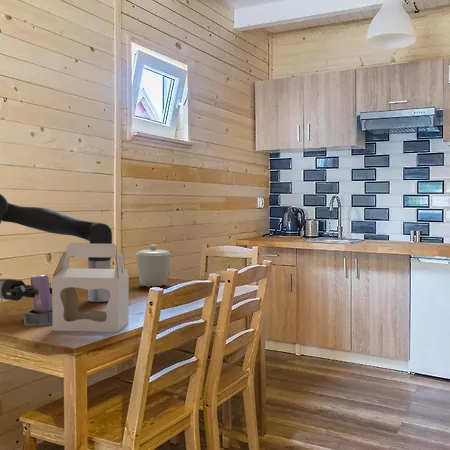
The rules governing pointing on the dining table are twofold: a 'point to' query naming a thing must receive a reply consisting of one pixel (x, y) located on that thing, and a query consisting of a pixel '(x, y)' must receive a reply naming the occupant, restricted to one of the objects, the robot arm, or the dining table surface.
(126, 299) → the gable box
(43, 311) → the beverage can
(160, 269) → the canister
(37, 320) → the ring collar
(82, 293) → the dining table surface
